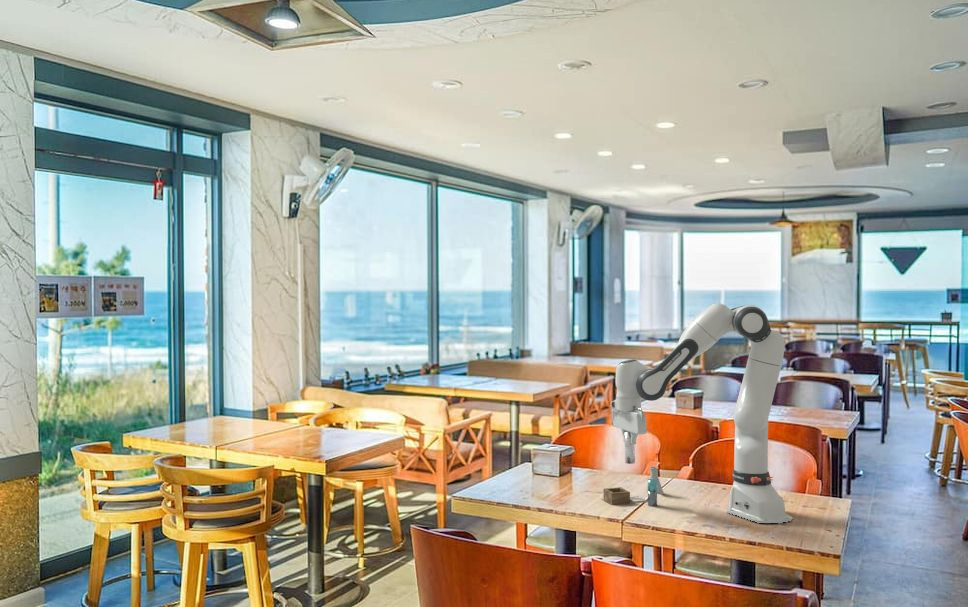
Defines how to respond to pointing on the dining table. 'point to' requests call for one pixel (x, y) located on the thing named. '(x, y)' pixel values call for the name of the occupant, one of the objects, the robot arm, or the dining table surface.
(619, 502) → the box
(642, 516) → the dining table surface
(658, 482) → the flask
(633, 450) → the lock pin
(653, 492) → the small bottle
